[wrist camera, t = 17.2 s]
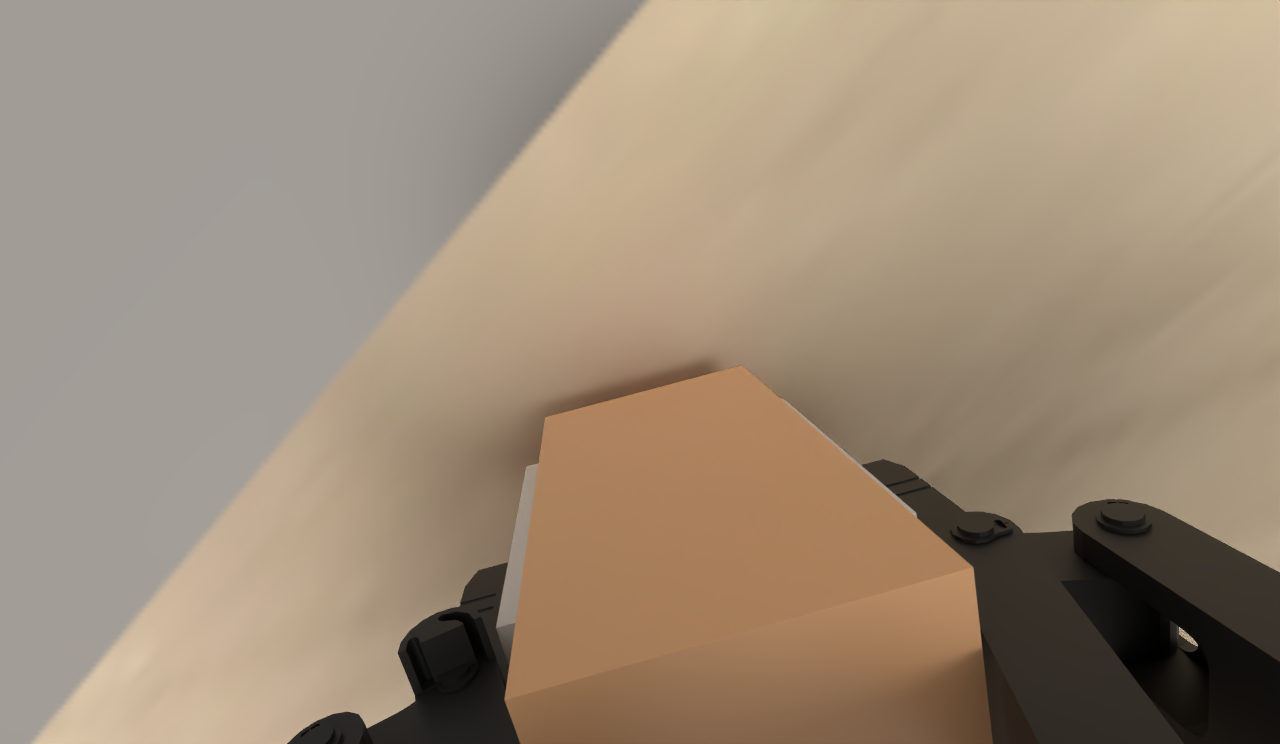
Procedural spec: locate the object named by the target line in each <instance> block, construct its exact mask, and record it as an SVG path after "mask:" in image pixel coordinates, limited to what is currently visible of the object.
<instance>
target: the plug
mask: <svg viewBox="0 0 1280 744" xmlns="http://www.w3.org/2000/svg"><path fill="white" fill-rule="evenodd" d="M504 700H505V703H506V706H507V708H508V711H509V714H510V717H511V719H512V722H513V725H514V727H515V730H516V733H517V736H518V738H519V741H520V744H993V740H992V731H991V722H990V713H989V704H988V695H987V686H986V677H985V668H984V659H983V650H982V641H981V632H980V623H979V614H978V605H977V596H976V587H975V578H974V569H973V567H972V566H971V565H970V564H969V563H968V562H967V561H966V560H964V559H963V558H962V557H961V556H960V555H959V554H958V553H956V552H955V551H954V550H953V549H952V548H951V547H950V546H948V545H947V544H946V543H945V542H944V541H943V540H942V539H940V538H939V537H938V536H937V535H936V534H935V533H934V532H932V531H931V530H930V529H929V528H928V527H927V526H926V525H924V524H923V523H922V522H921V521H920V520H919V519H918V518H916V517H915V516H914V515H913V514H912V513H911V512H910V511H908V510H907V509H906V508H905V507H904V506H903V505H902V504H900V503H899V502H898V501H897V500H896V499H895V498H894V497H892V496H891V495H890V494H889V493H888V492H887V491H886V490H884V489H883V488H882V487H881V486H880V485H879V484H878V483H876V482H875V481H874V480H873V479H872V478H871V477H870V476H868V475H867V474H866V473H865V472H864V471H863V470H862V469H860V468H859V467H858V466H857V465H856V464H855V463H854V462H852V461H851V460H850V459H849V458H848V457H847V456H846V455H844V454H843V453H842V452H841V451H840V450H839V449H838V448H836V447H835V446H834V445H833V444H832V443H831V442H830V441H828V440H827V439H826V438H825V437H824V436H823V435H822V434H820V433H819V432H818V431H817V430H816V429H815V428H814V427H812V426H811V425H810V424H809V423H808V422H807V421H806V420H804V419H803V418H802V417H801V416H800V415H799V414H798V413H796V412H795V411H794V410H793V409H792V408H791V407H790V406H788V405H787V404H786V403H785V402H784V401H783V400H782V399H780V398H779V397H778V396H777V395H776V394H775V393H774V392H772V391H771V390H770V389H769V388H768V387H767V386H766V385H764V384H763V383H762V382H761V381H760V380H759V379H758V378H756V377H755V376H754V375H753V374H752V373H751V372H750V371H748V370H747V369H746V368H745V367H744V366H743V365H741V366H737V367H733V368H729V369H726V370H722V371H718V372H714V373H711V374H707V375H703V376H699V377H695V378H692V379H688V380H684V381H680V382H677V383H673V384H669V385H665V386H661V387H658V388H654V389H650V390H646V391H643V392H639V393H635V394H631V395H628V396H624V397H620V398H616V399H612V400H609V401H605V402H601V403H597V404H594V405H590V406H586V407H582V408H578V409H575V410H571V411H567V412H563V413H560V414H556V415H552V416H548V417H545V422H544V429H543V436H542V443H541V450H540V457H539V464H538V470H537V477H536V484H535V491H534V498H533V505H532V512H531V519H530V526H529V533H528V540H527V547H526V554H525V561H524V568H523V574H522V581H521V588H520V595H519V602H518V609H517V616H516V623H515V630H514V637H513V644H512V651H511V658H510V665H509V672H508V679H507V685H506V692H505V699H504Z"/></svg>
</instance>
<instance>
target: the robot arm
mask: <svg viewBox="0 0 1280 744" xmlns="http://www.w3.org/2000/svg"><path fill="white" fill-rule="evenodd" d="M782 400H783V401H784V402H785V403H786V404H787V405H788V406H790V407H791V408H792V409H793V410H794V411H795V412H796V413H798V414H799V415H800V416H801V417H802V418H803V419H804V420H806V421H807V422H808V423H809V424H810V425H811V426H812V427H814V428H815V429H816V430H817V431H818V432H819V433H820V434H822V435H823V436H824V437H825V438H826V439H827V440H828V441H830V442H831V443H832V444H833V445H834V446H835V447H836V448H838V449H839V450H840V451H841V452H842V453H843V454H844V455H846V456H847V457H848V458H849V459H850V460H851V461H852V462H854V463H855V464H856V465H857V466H858V467H859V468H860V469H862V470H863V471H864V472H865V473H866V474H867V475H868V476H870V477H871V478H872V479H873V480H874V481H875V482H876V483H878V484H879V485H880V486H881V487H882V488H883V489H884V490H886V491H887V492H888V493H889V494H890V495H891V496H892V497H894V498H895V499H896V500H897V501H898V502H899V503H900V504H902V505H903V506H904V507H905V508H906V509H907V510H908V511H910V512H911V513H912V514H913V515H914V516H915V517H916V518H918V519H919V520H920V521H921V522H922V523H923V524H924V525H926V526H927V527H928V528H929V529H930V530H931V531H932V532H934V533H935V534H936V535H937V536H938V537H939V538H940V539H942V540H943V541H944V542H945V543H946V544H947V545H948V546H950V547H951V548H952V549H953V550H954V551H955V552H956V553H958V554H959V555H960V556H961V557H962V558H963V559H964V560H966V561H967V562H968V563H969V564H970V565H971V566H972V567H973V569H974V578H975V587H976V596H977V605H978V614H979V623H980V632H981V641H982V650H983V659H984V668H985V677H986V686H987V695H988V704H989V713H990V722H991V731H992V740H993V744H1280V573H1279V572H1277V571H1276V570H1274V569H1272V568H1270V567H1268V566H1266V565H1264V564H1262V563H1260V562H1259V561H1257V560H1255V559H1253V558H1251V557H1249V556H1247V555H1245V554H1244V553H1242V552H1240V551H1238V550H1236V549H1234V548H1232V547H1230V546H1228V545H1227V544H1225V543H1223V542H1221V541H1219V540H1217V539H1215V538H1213V537H1211V536H1210V535H1208V534H1206V533H1204V532H1202V531H1200V530H1198V529H1196V528H1194V527H1193V526H1191V525H1189V524H1187V523H1185V522H1183V521H1181V520H1179V519H1177V518H1176V517H1174V516H1172V515H1170V514H1168V513H1166V512H1164V511H1162V510H1160V509H1157V508H1154V507H1152V506H1149V505H1147V504H1142V503H1137V502H1132V501H1129V500H1120V499H1118V500H1115V499H1107V500H1101V501H1094V502H1089V503H1087V504H1084V505H1082V506H1079V507H1078V508H1077V509H1076V510H1075V511H1074V512H1073V514H1072V524H1073V531H1061V532H1046V533H1023V532H1022V531H1021V529H1020V528H1019V527H1018V526H1017V525H1015V524H1014V523H1013V522H1012V521H1011V520H1009V519H1006V518H1004V517H1001V516H999V515H996V514H991V513H985V512H965V511H964V510H962V509H961V508H960V507H958V506H957V505H956V504H954V503H953V502H952V501H950V500H949V499H948V498H946V497H945V496H944V495H942V494H941V493H940V492H938V491H937V490H936V489H934V488H933V487H932V488H931V487H930V485H929V484H928V483H926V482H925V481H924V480H922V479H919V477H918V476H917V475H916V474H914V473H913V472H912V471H910V470H909V469H908V468H906V467H905V466H903V465H900V464H896V463H893V462H890V461H887V460H884V459H883V460H879V461H876V462H872V463H868V464H864V465H860V464H859V463H858V462H857V461H856V460H854V459H853V458H852V457H851V456H850V455H849V454H847V453H846V452H845V451H844V450H843V449H842V448H840V447H839V446H838V445H837V444H836V443H835V442H834V441H832V440H831V439H830V438H829V437H828V436H827V435H825V434H824V433H823V432H822V431H821V430H820V429H818V428H817V427H816V426H815V425H814V424H813V423H811V422H810V421H809V420H808V419H807V418H806V417H805V416H803V415H802V414H801V413H800V412H799V411H798V410H796V409H795V408H794V407H793V406H792V405H791V404H789V403H788V402H787V401H786V400H785V399H782ZM538 464H539V463H537V464H534V465H530V466H526V470H525V476H524V481H523V486H522V492H521V497H520V502H519V508H518V513H517V518H516V524H515V529H514V534H513V540H512V545H511V550H510V556H509V561H508V563H504V564H500V565H497V566H493V567H489V568H486V569H482V570H478V572H477V573H476V574H475V575H474V577H473V578H472V579H471V580H470V581H469V583H468V584H467V585H466V586H465V589H464V592H463V596H462V599H461V606H459V607H455V608H450V609H447V610H444V611H441V612H438V613H436V614H434V615H432V616H430V617H428V618H427V619H425V620H423V621H422V622H420V623H419V624H418V625H417V626H415V627H414V628H413V629H412V630H410V631H409V633H408V634H407V635H406V636H405V638H404V639H403V640H402V642H401V644H400V647H399V651H398V655H399V657H400V660H401V662H402V665H403V667H404V669H405V672H406V674H407V677H408V679H409V682H410V684H411V687H412V689H413V691H414V694H415V702H414V703H412V704H411V705H410V706H408V707H407V708H405V709H403V710H402V711H400V712H398V713H397V714H395V715H393V716H391V717H389V718H387V719H385V720H383V721H381V722H379V723H377V724H375V725H373V726H371V727H369V728H366V726H365V724H364V722H363V720H362V719H361V717H360V716H359V714H355V713H351V712H343V713H337V714H332V715H330V716H328V717H325V718H323V719H321V720H318V721H316V722H314V723H313V724H311V725H310V726H308V727H306V728H305V729H303V730H302V731H301V732H299V733H298V734H297V735H296V736H295V737H294V738H293V739H292V740H291V741H290V742H289V743H288V744H520V741H519V738H518V736H517V733H516V730H515V727H514V725H513V722H512V719H511V717H510V714H509V711H508V708H507V706H506V703H505V700H504V699H505V692H506V685H507V679H508V672H509V665H510V658H511V651H512V644H513V637H514V630H515V623H516V616H517V609H518V602H519V595H520V588H521V581H522V574H523V568H524V561H525V554H526V547H527V540H528V533H529V526H530V519H531V512H532V505H533V498H534V491H535V484H536V477H537V470H538ZM1179 627H1180V628H1182V629H1183V630H1184V631H1186V632H1187V633H1188V634H1189V635H1190V636H1191V637H1192V638H1193V639H1194V640H1195V641H1196V643H1197V644H1198V647H1197V646H1195V645H1193V644H1191V643H1190V642H1188V641H1187V640H1186V639H1184V638H1183V637H1182V636H1180V635H1179Z"/></svg>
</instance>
